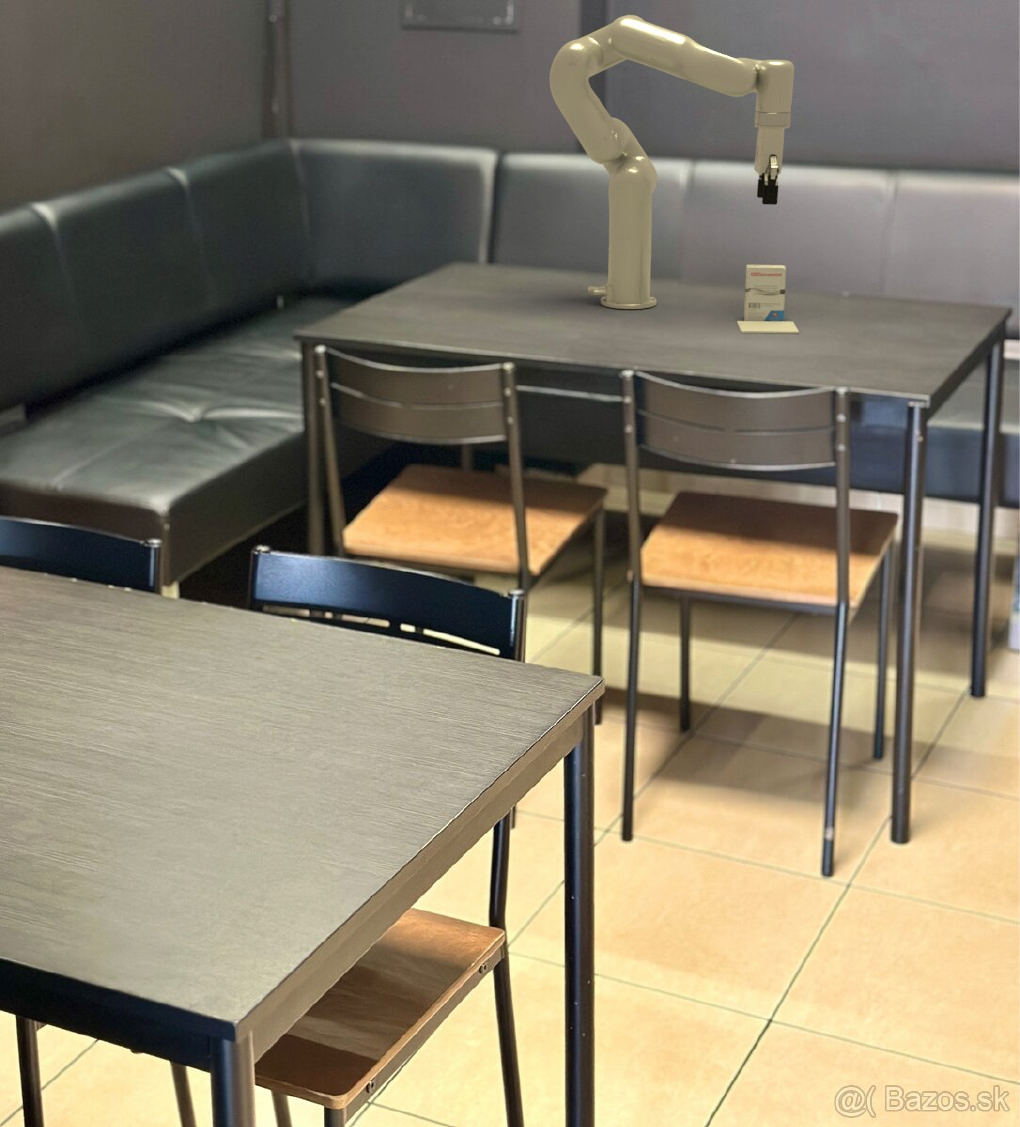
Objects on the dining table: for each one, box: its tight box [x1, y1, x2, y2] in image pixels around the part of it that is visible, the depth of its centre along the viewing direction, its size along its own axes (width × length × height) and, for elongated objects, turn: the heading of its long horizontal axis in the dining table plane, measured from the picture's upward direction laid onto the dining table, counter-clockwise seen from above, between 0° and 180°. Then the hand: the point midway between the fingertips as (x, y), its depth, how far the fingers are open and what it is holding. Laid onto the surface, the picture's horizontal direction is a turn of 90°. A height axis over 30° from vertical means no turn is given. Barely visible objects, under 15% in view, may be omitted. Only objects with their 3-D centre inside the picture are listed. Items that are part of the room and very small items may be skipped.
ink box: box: [743, 264, 787, 321], centre depth 345 cm, size 8×5×12 cm, turn 84°
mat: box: [736, 320, 800, 335], centre depth 339 cm, size 12×10×1 cm
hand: (766, 200), depth 348 cm, fingers open, 9 cm apart
